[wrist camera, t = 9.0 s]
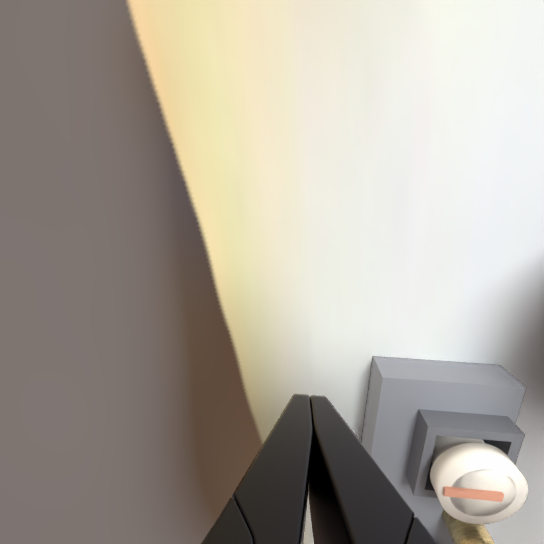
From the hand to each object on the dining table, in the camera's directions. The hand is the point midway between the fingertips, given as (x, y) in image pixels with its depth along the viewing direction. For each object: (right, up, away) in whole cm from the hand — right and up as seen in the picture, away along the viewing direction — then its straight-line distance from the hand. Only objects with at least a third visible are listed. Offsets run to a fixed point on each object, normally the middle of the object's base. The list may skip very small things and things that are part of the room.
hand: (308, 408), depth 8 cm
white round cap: (+12, -8, +14) cm, 20 cm away
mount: (+10, -13, +16) cm, 23 cm away
